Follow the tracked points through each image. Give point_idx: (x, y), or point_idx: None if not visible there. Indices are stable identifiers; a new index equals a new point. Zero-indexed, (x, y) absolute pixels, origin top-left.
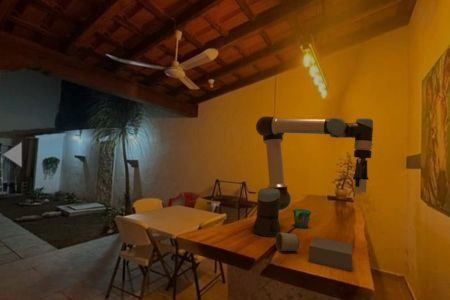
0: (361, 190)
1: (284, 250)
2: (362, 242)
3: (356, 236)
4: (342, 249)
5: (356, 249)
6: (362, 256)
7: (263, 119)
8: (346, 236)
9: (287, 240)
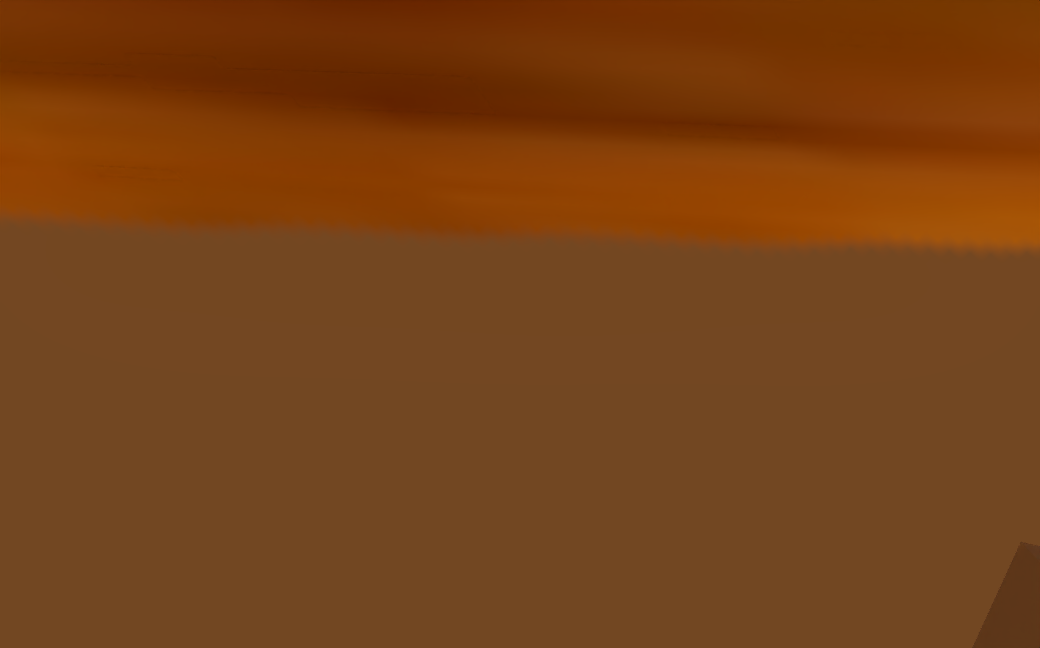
0: (1028, 639)
1: None
2: (725, 241)
3: (1027, 182)
4: None
5: (315, 146)
6: (65, 198)
7: None
8: (939, 37)
9: None
